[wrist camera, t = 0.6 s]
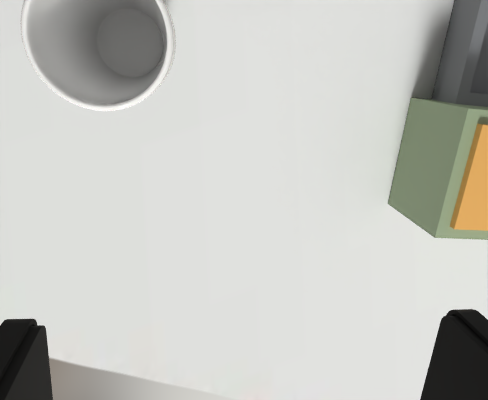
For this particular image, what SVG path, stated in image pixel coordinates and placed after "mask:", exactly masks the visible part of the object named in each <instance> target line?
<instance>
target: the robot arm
mask: <svg viewBox="0 0 488 400" xmlns="http://www.w3.org/2000/svg"><path fill="white" fill-rule="evenodd" d="M0 400H53V397H52V386H51V376H50V366H49V356H48V346H47V335H46V328H45V326H37V322H36V320H35V319H7V320H4V322H3V323H2V324H1V326H0ZM420 400H488V320H487V319H486V318H485V317H484V316H483V315H482V314H480V313H479V312H478V311H476V310H472V309H468V310H451V311H449V312H448V313H447V315H446V316H444V317H443V318H442V320H441V322H440V326H439V330H438V334H437V338H436V342H435V345H434V349H433V353H432V357H431V361H430V364H429V368H428V372H427V376H426V380H425V384H424V387H423V391H422V395H421V399H420Z"/></svg>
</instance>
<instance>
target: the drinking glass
mask: <svg viewBox="0 0 488 400" xmlns="http://www.w3.org/2000/svg"><path fill="white" fill-rule="evenodd" d="M21 35H22V41H23V45H24V48H25V51H26V54H27V57H28V59H29V61H30V63H31V65H32V67H33V68H34V70H35V71H36V73H37V74H38V76H39V77H40V78H41V79H42V81H43V82H44V83H45V84H46V85H47V86H48V87H49V88H50V89H51V90H52V91H54V92H55V93H56V94H57V95H59V96H60V97H62V98H63V99H65V100H67V101H68V102H71V103H73V104H75V105H77V106H80V107H83V108H87V109H91V110H97V111H114V110H120V109H124V108H128V107H131V106H133V105H135V104H137V103H139V102H141V101H142V100H144V99H146V98H147V97H149V96H150V95H151V94H153V93H154V92H155V91H156V90H157V89H158V88H159V87H160V86H161V84H162V83H163V82H164V80H165V79H166V77H167V75H168V74H169V71H170V69H171V67H172V64H173V60H174V56H175V49H176V36H175V29H174V25H173V21H172V18H171V15H170V13H169V10H168V8H167V6H166V4H165V2H164V1H163V0H24V3H23V7H22V13H21Z"/></svg>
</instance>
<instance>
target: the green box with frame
mask: <svg viewBox="0 0 488 400" xmlns="http://www.w3.org/2000/svg"><path fill="white" fill-rule="evenodd" d="M388 204H389V205H390V206H392V207H393V208H394V209H396V210H397V211H399V212H400V213H401V214H403V215H404V216H405V217H407V218H408V219H410V220H411V221H412V222H414V223H415V224H417V225H418V226H419V227H421V228H422V229H424V230H425V231H426V232H428V233H429V234H430V235H432V236H433V237H435V238H457V239H484V240H488V0H455V1H454V5H453V9H452V14H451V18H450V22H449V27H448V31H447V35H446V40H445V44H444V48H443V53H442V57H441V61H440V65H439V70H438V74H437V78H436V83H435V87H434V91H433V96H432V100H431V99H420V98H411V100H410V105H409V109H408V114H407V118H406V123H405V128H404V132H403V137H402V141H401V146H400V151H399V155H398V160H397V164H396V169H395V174H394V178H393V183H392V188H391V192H390V197H389V201H388Z"/></svg>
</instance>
